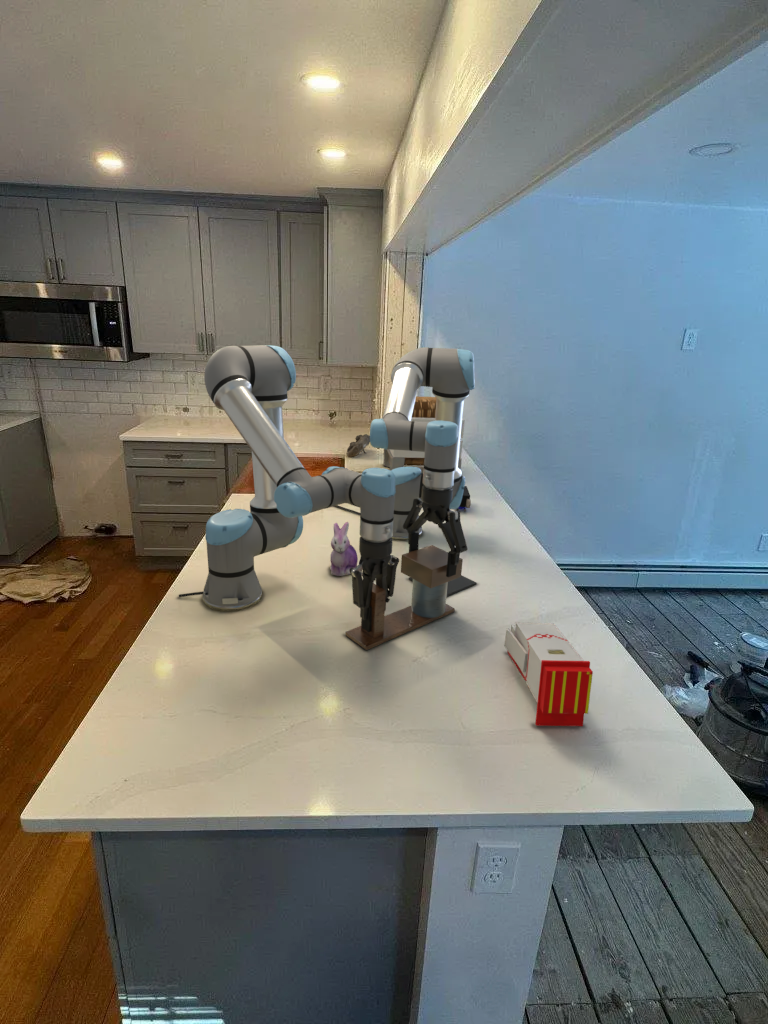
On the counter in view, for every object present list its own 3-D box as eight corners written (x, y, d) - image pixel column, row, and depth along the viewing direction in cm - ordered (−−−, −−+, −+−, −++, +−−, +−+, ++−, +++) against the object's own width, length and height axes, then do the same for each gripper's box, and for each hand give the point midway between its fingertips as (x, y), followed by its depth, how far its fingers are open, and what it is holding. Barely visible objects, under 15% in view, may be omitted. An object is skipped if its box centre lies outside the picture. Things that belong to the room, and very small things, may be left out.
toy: (550, 607, 134) (601, 667, 105) (545, 659, 137) (594, 732, 108) (499, 606, 134) (537, 666, 104) (495, 659, 137) (530, 731, 107)
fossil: (346, 440, 316) (367, 425, 311) (357, 453, 319) (378, 438, 314) (340, 453, 296) (362, 438, 291) (351, 468, 299) (374, 452, 294)
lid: (400, 572, 146) (401, 554, 144) (430, 561, 153) (432, 544, 151) (430, 588, 138) (432, 570, 136) (461, 576, 145) (462, 559, 143)
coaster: (408, 579, 167) (408, 577, 166) (441, 567, 175) (441, 565, 175) (443, 598, 157) (443, 596, 157) (476, 584, 165) (476, 582, 165)
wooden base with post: (367, 651, 131) (369, 601, 126) (344, 634, 137) (345, 586, 133) (455, 612, 150) (460, 567, 145) (431, 599, 156) (435, 555, 152)
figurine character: (470, 516, 223) (465, 500, 237) (473, 499, 220) (467, 484, 233) (453, 516, 223) (449, 500, 236) (455, 498, 220) (451, 483, 233)
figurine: (335, 579, 164) (336, 531, 159) (322, 565, 172) (322, 519, 167) (364, 574, 168) (366, 527, 163) (350, 560, 177) (351, 515, 172)
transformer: (382, 463, 289) (386, 382, 275) (445, 464, 293) (451, 384, 279) (390, 482, 257) (394, 392, 243) (460, 483, 261) (468, 394, 247)
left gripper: (358, 550, 121) (355, 645, 129) (413, 534, 131) (407, 623, 139) (337, 539, 126) (336, 630, 134) (391, 524, 136) (387, 610, 144)
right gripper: (392, 476, 144) (388, 553, 151) (466, 502, 126) (457, 588, 133) (413, 472, 148) (408, 546, 155) (487, 496, 131) (478, 579, 138)
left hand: (372, 626), depth 136 cm, fingers closed on wooden base with post, 3 cm apart
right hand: (431, 566), depth 144 cm, fingers open, 13 cm apart
